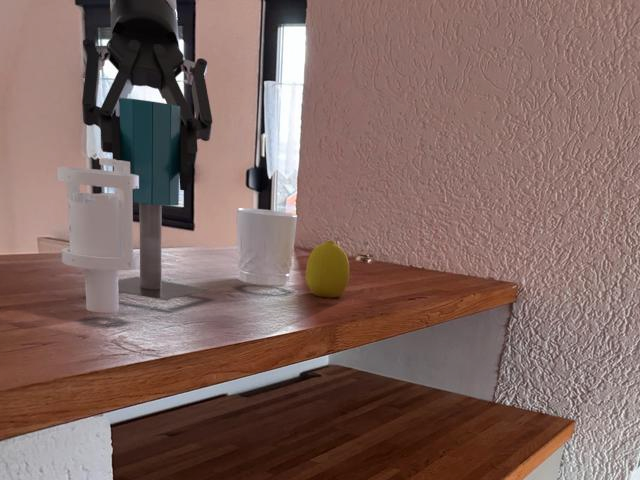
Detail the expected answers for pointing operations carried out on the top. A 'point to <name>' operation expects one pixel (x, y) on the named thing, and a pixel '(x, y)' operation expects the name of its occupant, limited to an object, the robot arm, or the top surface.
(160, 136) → the ring sleeve
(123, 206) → the white stepped cylinder
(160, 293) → the grey peg stand
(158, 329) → the top surface
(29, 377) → the top surface
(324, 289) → the lemon
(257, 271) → the white cup
